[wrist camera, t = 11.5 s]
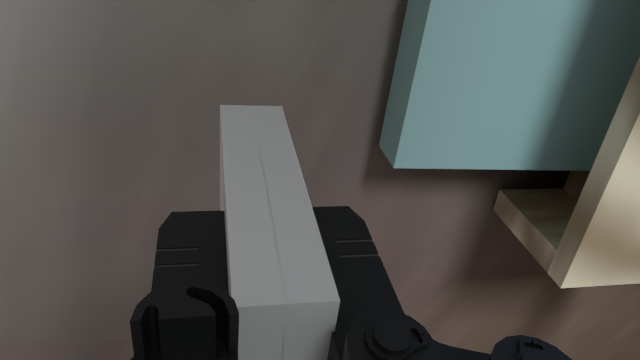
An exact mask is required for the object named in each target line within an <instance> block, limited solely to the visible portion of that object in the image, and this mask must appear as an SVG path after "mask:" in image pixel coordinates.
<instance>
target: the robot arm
mask: <svg viewBox="0 0 640 360" xmlns="http://www.w3.org/2000/svg"><path fill="white" fill-rule="evenodd" d="M130 326H131V334H132V342H133V349H134V356H133V357H132V358H131V360H572V359H570V358H569V357H568V356H567V355H565V354H564V353H563V352H562V351H560V350H559V349H558V348H556V347H555V346H553V345H551V344H549V343H547V342H544V341H542V340H540V339H538V338H533V337H528V336H523V335H518V336H510V337H505V338H504V339H502V340H501V341H499V342H498V343H496V344H495V346H494V349H493V351H492V353H491V354H486V353H481V352H476V351H471V350H466V349H461V348H456V347H452V346H448V345H445V344H441V343H439V342H437V341H435V340H433V339H432V337H431V336H430V335H429V333H428V332H427V330H426V329H425V327H424V326H422V325H421V324H420V323H418V322H417V321H416V320H414V319H413V318H411V317H410V316H407V315H405V314H404V312H403V310H402V308H401V305H400V303H399V301H398V298H397V296H396V294H395V291H394V289H393V287H392V284H391V282H390V280H389V277H388V275H387V273H386V270H385V268H384V266H383V263H382V261H381V259H380V256H379V257H378V252H377V249H376V247H375V245H374V242H372V238H371V235H370V233H369V231H368V228H367V226H366V224H365V221H364V220H363V219H362V218H361V217H359V216H358V215H357V214H356V213H355V212H354V211H353V210H352V209H351V208H350V207H349V206H336V207H312V205H311V201H310V198H309V195H308V191H307V188H306V185H305V181H304V178H303V175H302V171H301V168H300V165H299V161H298V158H297V155H296V151H295V148H294V145H293V141H292V138H291V135H290V131H289V128H288V125H287V121H286V118H285V115H284V111H283V108H282V106H249V105H220V211H193V212H172V213H171V214H170V215H169V217H168V218H167V219H166V220H165V222H164V223H163V224H162V226H161V227H160V228H159V232H158V240H157V252H156V257H155V269H154V273H153V282H152V290H151V292H150V293H149V294H148V295H147V296H146V297H145V298H144V299H143V300H142V301H141V302H140V303H139V304H138V305H137V306H136V308H135V310H134V313H133V315H132V317H131V320H130Z"/></svg>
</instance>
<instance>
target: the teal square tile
mask: <svg viewBox="0 0 640 360" xmlns="http://www.w3.org/2000/svg"><path fill="white" fill-rule="evenodd" d="M639 56H640V0H408V3H407V8H406V13H405V18H404V23H403V28H402V33H401V38H400V43H399V48H398V53H397V58H396V63H395V68H394V73H393V77H392V82H391V87H390V92H389V97H388V102H387V107H386V112H385V117H384V122H383V127H382V132H381V137H380V142H379V147H380V148H381V150H382V151H383V153H384V154H385V156H386V158H387V159H388V161H389V162H390V164H391V165H392V167H393V168H406V169H487V170H569V171H591V169H592V166H593V164H594V162H595V159H596V157H597V155H598V152H599V150H600V148H601V145H602V143H603V141H604V138H605V136H606V134H607V131H608V129H609V127H610V124H611V122H612V119H613V117H614V115H615V112H616V110H617V108H618V105H619V103H620V101H621V98H622V96H623V94H624V91H625V89H626V87H627V84H628V82H629V80H630V77H631V75H632V73H633V70H634V68H635V66H636V63H637V61H638V58H639Z"/></svg>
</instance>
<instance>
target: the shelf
mask: <svg viewBox="0 0 640 360" xmlns="http://www.w3.org/2000/svg"><path fill="white" fill-rule="evenodd" d="M493 210H494V212H495V213H496V214H497V215H498V216H499V217H500V219H501V220H502V221H503V222H504V223H505V224H506V226H507V227H508V228H509V229H510V230H511V231H512V233H513V234H514V235H515V236H516V237H517V238H518V240H519V241H520V242H521V243H522V244H523V245H524V246H525V248H526V249H527V250H528V251H529V252H530V253H531V255H532V256H533V257H534V258H535V259H536V260H537V262H538V263H539V264H540V265H541V266H542V267H543V269H544V270H545V271H546V272H547V273H548V274H549V276H550V277H551V278H552V279H553V280H554V281H555V283H556V284H557V285H558V286H559V287H560V288H574V287H589V286H604V285H619V284H635V283H640V56H639V58H638V61H637V63H636V66H635V68H634V70H633V73H632V75H631V77H630V80H629V82H628V84H627V87H626V89H625V91H624V94H623V96H622V98H621V101H620V103H619V105H618V108H617V110H616V112H615V115H614V117H613V119H612V122H611V124H610V127H609V129H608V131H607V134H606V136H605V138H604V141H603V143H602V145H601V148H600V150H599V152H598V155H597V157H596V159H595V162H594V164H593V166H592V169H591V171H570V173H569V175H568V178H567V180H566V183H565V185H564V187H563V188H560V189H500V190H499V193H498V196H497V199H496V202H495V205H494V208H493Z"/></svg>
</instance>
